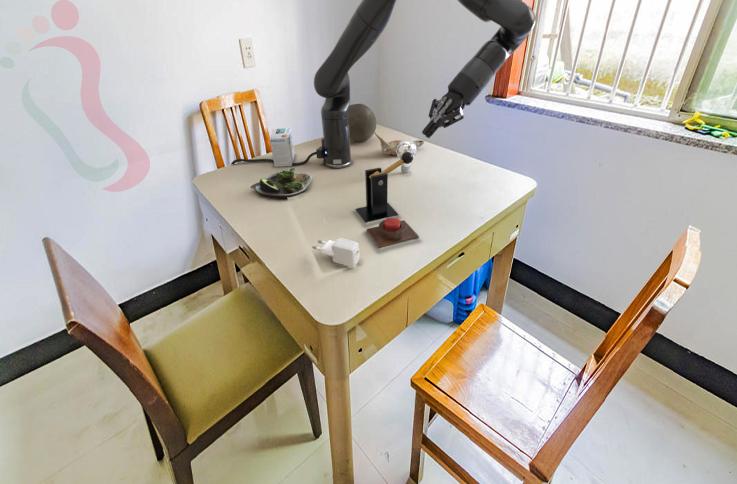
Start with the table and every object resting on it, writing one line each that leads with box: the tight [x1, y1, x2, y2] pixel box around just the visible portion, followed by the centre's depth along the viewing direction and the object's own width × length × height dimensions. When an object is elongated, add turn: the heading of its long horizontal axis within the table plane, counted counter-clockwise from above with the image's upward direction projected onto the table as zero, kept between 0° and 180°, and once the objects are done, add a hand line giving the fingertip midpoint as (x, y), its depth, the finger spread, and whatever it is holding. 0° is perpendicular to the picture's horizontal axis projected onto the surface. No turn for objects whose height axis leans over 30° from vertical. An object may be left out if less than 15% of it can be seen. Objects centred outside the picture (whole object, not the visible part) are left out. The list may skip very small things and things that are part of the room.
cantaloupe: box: [348, 103, 377, 143], centre depth 151 cm, size 14×14×15 cm
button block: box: [366, 219, 420, 249], centre depth 97 cm, size 11×8×4 cm
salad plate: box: [250, 167, 313, 200], centre depth 123 cm, size 19×18×5 cm
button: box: [384, 216, 401, 231], centre depth 95 cm, size 4×4×2 cm
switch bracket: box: [355, 167, 400, 224], centre depth 103 cm, size 10×8×13 cm
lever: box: [369, 152, 414, 180], centre depth 101 cm, size 13×3×3 cm, turn 110°
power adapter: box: [311, 237, 361, 270], centre depth 89 cm, size 11×5×6 cm, turn 66°
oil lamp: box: [374, 131, 425, 157], centre depth 142 cm, size 9×21×10 cm, turn 115°
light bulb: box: [396, 139, 418, 174], centre depth 126 cm, size 7×7×12 cm
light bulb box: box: [269, 127, 295, 168], centre depth 138 cm, size 11×7×11 cm, turn 5°
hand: (425, 135), depth 99 cm, fingers closed
